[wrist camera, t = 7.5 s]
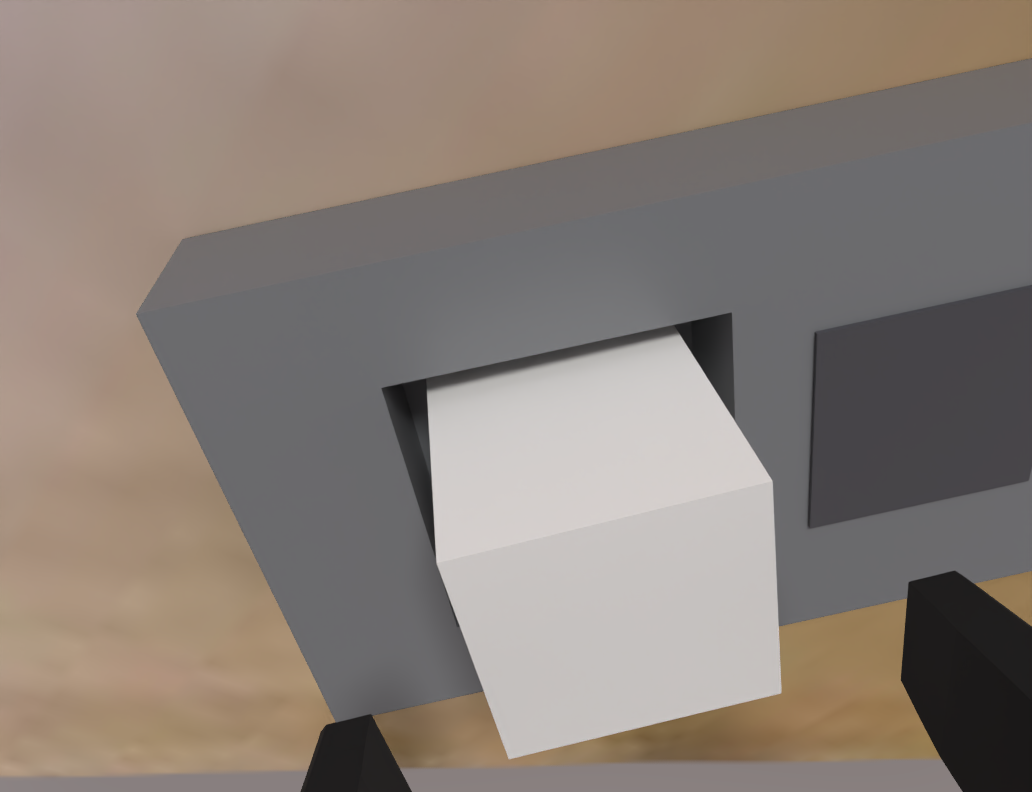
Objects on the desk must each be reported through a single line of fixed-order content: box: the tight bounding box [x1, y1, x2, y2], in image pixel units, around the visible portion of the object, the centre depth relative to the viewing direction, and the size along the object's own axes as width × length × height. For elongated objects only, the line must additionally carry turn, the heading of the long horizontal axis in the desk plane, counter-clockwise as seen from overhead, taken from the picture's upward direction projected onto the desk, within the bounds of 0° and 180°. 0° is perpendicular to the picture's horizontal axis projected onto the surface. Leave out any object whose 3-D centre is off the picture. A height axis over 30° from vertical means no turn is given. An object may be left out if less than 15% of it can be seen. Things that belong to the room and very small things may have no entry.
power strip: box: [136, 58, 1032, 722], centre depth 16 cm, size 22×10×3 cm, turn 100°
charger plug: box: [426, 325, 781, 759], centre depth 14 cm, size 4×4×6 cm
